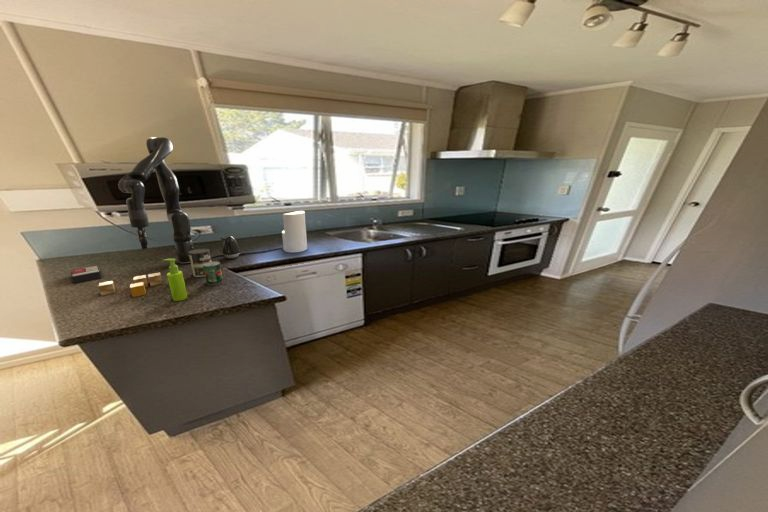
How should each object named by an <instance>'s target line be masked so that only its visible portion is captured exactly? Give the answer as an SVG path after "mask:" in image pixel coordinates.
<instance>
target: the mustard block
mask: <svg viewBox="0 0 768 512" xmlns="http://www.w3.org/2000/svg"><path fill="white" fill-rule="evenodd" d="M129 289H130V293H131V296H132V298H135V297H140V296H146V295H147V290H146V287H145V286H144V282H140V283H135V284H134V283H130V284H129Z"/></svg>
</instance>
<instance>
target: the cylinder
mask: <svg viewBox="0 0 768 512" xmlns="http://www.w3.org/2000/svg"><path fill="white" fill-rule="evenodd" d="M282 221H283V230H281V238H282V247H283V248H282V249H283V251H284V252H285V253H301V252H304V251H306V250H308V239H307V227H306V226H307V224H306V212H305V210H297V211H293V212H287V213H282Z"/></svg>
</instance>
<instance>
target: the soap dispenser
mask: <svg viewBox="0 0 768 512" xmlns="http://www.w3.org/2000/svg"><path fill="white" fill-rule="evenodd" d="M175 261H177V259H176V258H164V259H162V260H161V262H169V266H168V271H169V272H167V273H166V277H167V282H168V285H169V289H170V294H171V298H172V301H174V302H181V301H184V300H186V299H188V298H189V297H188V292H187V288H186V282H185V278H184V273H183V271H182V270H179V266H178V264H175Z"/></svg>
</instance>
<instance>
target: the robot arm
mask: <svg viewBox="0 0 768 512" xmlns="http://www.w3.org/2000/svg"><path fill="white" fill-rule="evenodd" d="M145 143H146V145H145V146H146V148H147V152H148V154H149V155H146V156H145V157H143V158H142V159H141V160H139V161H138V162H137V163H136V164H135V166H134V167H133V168H132V170H131V171H129V172H128V173H127V174H125V175H124V176H122V177H121V179H119V181H118V184H117V186H118V189H119V190H120V191H121V192H122V193H126V194H131V197H128V198H126V200H125V203H126V208H127V215H128V219H129V223H130V227H131V228H135V229H136V230H135V231H136V235H137V238H138V241H139V243H140V247H141V249H142V250H147V249H148V239H147V238H148V237H147V236H148V233H147V229H146V228H147V227H149V226H150V223H149V218H148V213H147V211H146V207H145V201H144V200H145V194H146V193H145V192H146V188H145V185H144V183H143V182H145V181H147V180H148V179H149V177H150V176H151V175H152V173H153V172H154V171H155V175H156V178H157V182H158V185H159V189H160V193H161V196H162V198H163V201H164V205H165V211H166V217H167V221H168V222H169V223H170V224H171V225H172V238H173V242H174V247H175V251H176V255H177V256H176V257H177V260H178V264H180V265H181V264H183V265H184V264H191V262H190V257H189V253H188V252H189V251H191V250H194V249H195V248H194V244H193V240H192V235H191V234H192V233H191V231H192V228H191V222H190V218H189V215H188V214H187V213H186V212H184V211H182V208H181V204H180V186H179V183H178V178H177V176H176V175H175V173H174V172H173V171H172V169H170V167H169V166H168V165H167V163H166V162H165V159H166V158H167V157H168V156H169V155H170V154H171V153H173V150H174V146H173V142H172V141H171V140H170V139H169V138H167V137H163V136H150V137H148V138H146V141H145ZM282 249H284V248H283V246H282V247H277V248H273V249H266V250H261V251H253V252H242V253H240V252H239V255H240V256H241V255H250V254H261V253H266V252H272V251H277V250H282ZM210 257H211V259H214V258H219V257H225V256H224V254H218V255H215V256H210Z"/></svg>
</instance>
